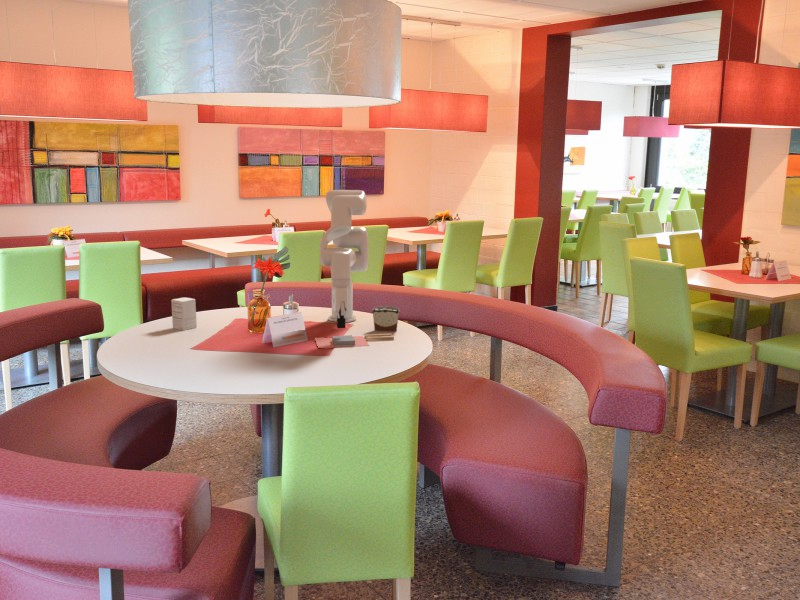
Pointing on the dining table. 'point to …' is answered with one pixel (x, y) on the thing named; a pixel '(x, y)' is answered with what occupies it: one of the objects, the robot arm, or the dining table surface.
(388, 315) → the half round cake
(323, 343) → the mat
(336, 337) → the grey square slab
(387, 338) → the stand
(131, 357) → the dining table surface
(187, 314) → the supplement box
